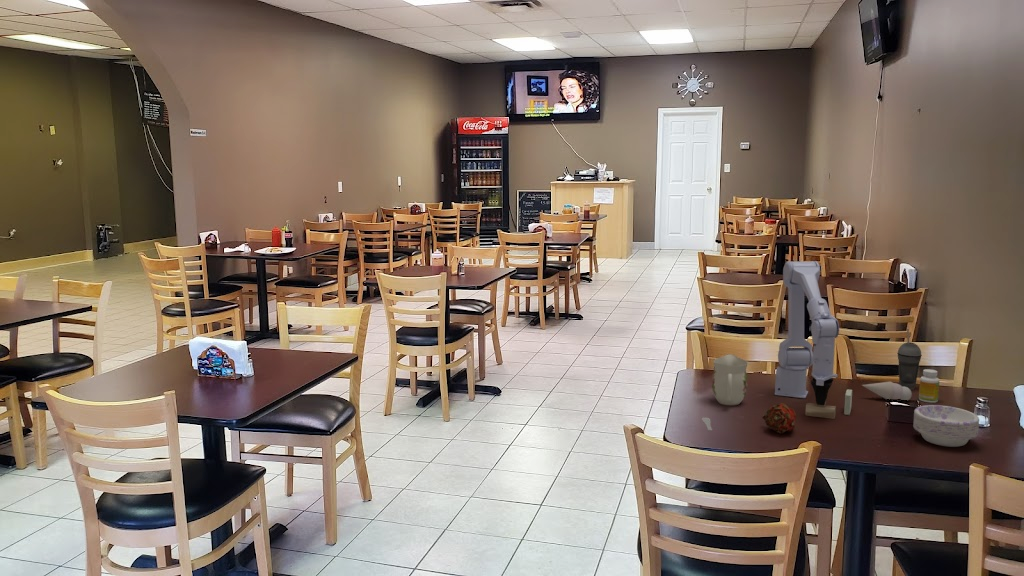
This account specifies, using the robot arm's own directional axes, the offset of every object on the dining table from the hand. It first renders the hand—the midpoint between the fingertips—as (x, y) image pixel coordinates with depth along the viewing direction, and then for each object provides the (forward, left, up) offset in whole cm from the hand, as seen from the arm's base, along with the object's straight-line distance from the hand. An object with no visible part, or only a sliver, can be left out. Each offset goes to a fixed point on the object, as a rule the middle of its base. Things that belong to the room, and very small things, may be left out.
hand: (821, 403), depth 228 cm
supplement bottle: (+29, +31, -4) cm, 43 cm away
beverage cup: (+23, +44, -4) cm, 50 cm away
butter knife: (-26, -28, -4) cm, 38 cm away
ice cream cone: (+17, +26, -4) cm, 31 cm away
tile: (+7, +8, -4) cm, 11 cm away
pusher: (0, 0, -4) cm, 4 cm away
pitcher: (-27, +1, -4) cm, 27 cm away
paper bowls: (+32, -9, -4) cm, 33 cm away
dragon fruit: (-9, -19, -4) cm, 21 cm away
